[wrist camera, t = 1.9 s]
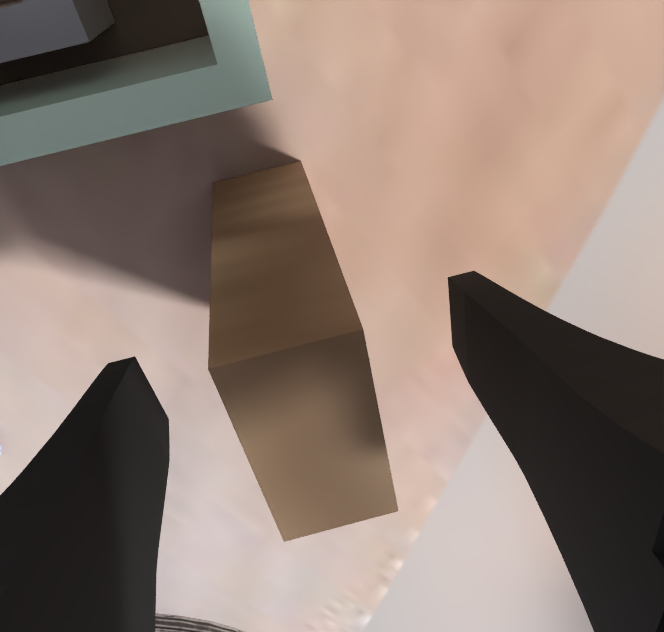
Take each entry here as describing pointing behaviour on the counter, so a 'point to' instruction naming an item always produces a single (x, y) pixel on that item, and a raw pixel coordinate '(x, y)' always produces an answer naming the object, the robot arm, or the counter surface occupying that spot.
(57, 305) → the counter surface
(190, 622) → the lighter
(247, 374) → the wood grain brick
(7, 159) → the sage green storage tray
